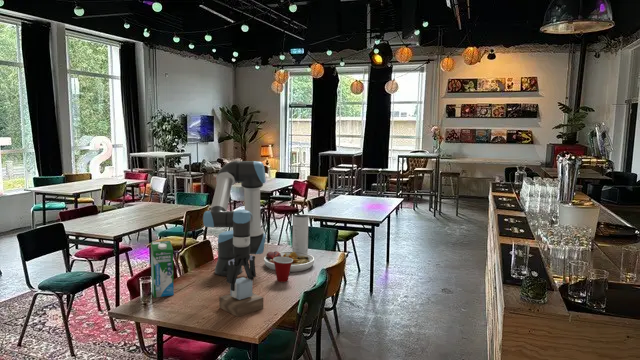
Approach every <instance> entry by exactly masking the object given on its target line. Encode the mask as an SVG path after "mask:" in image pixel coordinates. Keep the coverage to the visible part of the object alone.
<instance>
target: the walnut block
mask: <svg viewBox="0 0 640 360" xmlns="http://www.w3.org/2000/svg"><path fill="white" fill-rule="evenodd" d="M218 307H219V309H221V310H223V311H225V312H227V313H230V314H232V315H233V316H235V317H242V316H245V315H247V314H251V313H254V312H256V311H259V309H260V310H262V308H263V309H264V297H263V296H261V295H258V294H256V293H254V292H252V296H251V297H248V298H244V299H241V300H239V299H236V298H234V297H232V296H230V293H228V294H225V295H222V296H219V306H218Z"/></svg>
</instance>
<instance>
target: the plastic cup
mask: <svg viewBox="0 0 640 360" xmlns="http://www.w3.org/2000/svg"><path fill="white" fill-rule="evenodd" d="M273 260H274V264H275V270H276V271H275V270H274V271H275V275H276V280H277V282H279V283H285V282H288V281H289V276H290V273H291V272H290V267H291V264H292V262H293V259H291V258H288V257H275V258H273Z"/></svg>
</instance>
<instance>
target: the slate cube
mask: <svg viewBox="0 0 640 360" xmlns="http://www.w3.org/2000/svg"><path fill="white" fill-rule="evenodd" d="M235 283H237V298H236V299H239V300H241V299H244V298H248V297H251V296H252V293H253V280H252V281H251V280H249V279H247V278H246V277H239V278H238V277H237V279H236V282H235ZM229 285H230V288H229V289H230V293H229V294H230V296H232V290H231V284H230V283H229Z"/></svg>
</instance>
